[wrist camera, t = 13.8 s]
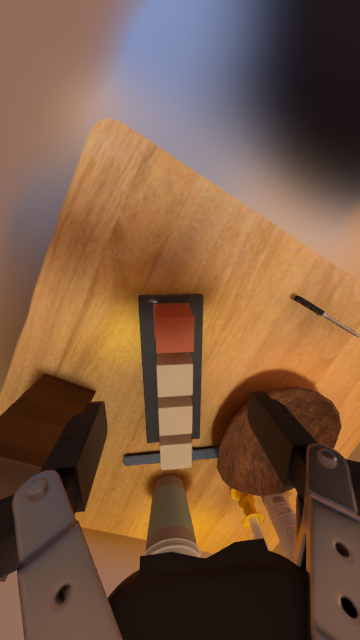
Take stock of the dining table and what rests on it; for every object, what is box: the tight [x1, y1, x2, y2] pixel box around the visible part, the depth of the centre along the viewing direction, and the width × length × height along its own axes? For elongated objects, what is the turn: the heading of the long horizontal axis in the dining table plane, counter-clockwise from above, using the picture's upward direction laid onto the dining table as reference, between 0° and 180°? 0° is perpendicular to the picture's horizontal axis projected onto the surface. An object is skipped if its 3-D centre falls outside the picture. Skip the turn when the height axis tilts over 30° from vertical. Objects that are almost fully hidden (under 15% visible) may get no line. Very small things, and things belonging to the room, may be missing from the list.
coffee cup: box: [144, 475, 200, 557], centre depth 34 cm, size 8×8×12 cm
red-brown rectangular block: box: [155, 305, 194, 354], centre depth 26 cm, size 4×4×6 cm
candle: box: [230, 488, 270, 551], centre depth 34 cm, size 5×5×16 cm
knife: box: [293, 296, 360, 338], centre depth 32 cm, size 15×1×2 cm, turn 61°
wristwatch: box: [123, 447, 219, 466], centre depth 37 cm, size 4×20×1 cm, turn 90°
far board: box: [138, 294, 203, 470], centre depth 29 cm, size 9×25×8 cm, turn 0°
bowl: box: [217, 387, 341, 496], centre depth 35 cm, size 20×22×5 cm
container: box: [262, 493, 296, 561], centre depth 36 cm, size 5×5×15 cm
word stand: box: [0, 374, 95, 582], centre depth 24 cm, size 18×8×19 cm, turn 153°
